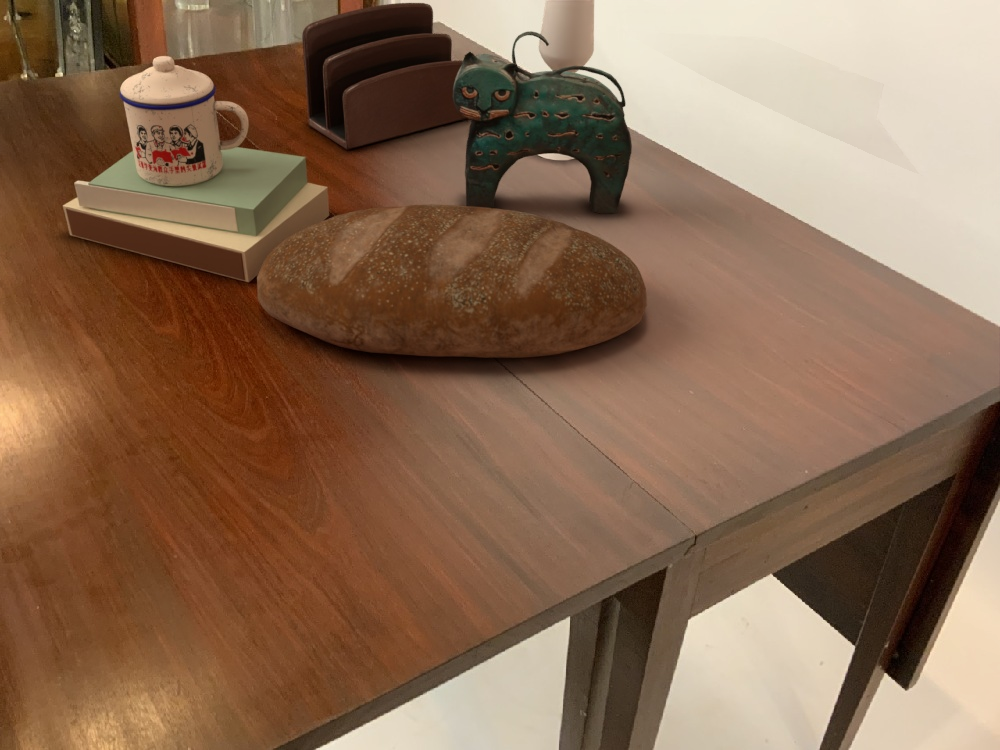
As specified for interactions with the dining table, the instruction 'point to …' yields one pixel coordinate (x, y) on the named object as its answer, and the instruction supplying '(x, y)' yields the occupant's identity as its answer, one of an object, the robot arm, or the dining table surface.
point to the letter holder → (378, 74)
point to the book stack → (202, 212)
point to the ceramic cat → (540, 124)
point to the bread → (451, 283)
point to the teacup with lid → (176, 124)
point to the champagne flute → (567, 39)
